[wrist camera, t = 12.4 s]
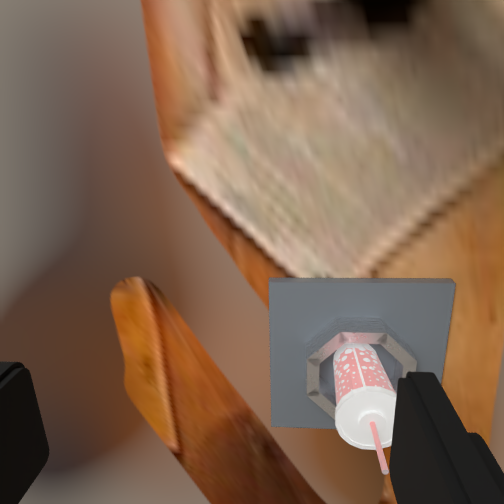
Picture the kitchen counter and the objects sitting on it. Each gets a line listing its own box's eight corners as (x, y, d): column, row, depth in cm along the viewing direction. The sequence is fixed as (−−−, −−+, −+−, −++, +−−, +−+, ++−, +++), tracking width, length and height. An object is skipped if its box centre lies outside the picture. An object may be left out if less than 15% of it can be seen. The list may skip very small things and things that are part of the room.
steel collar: (306, 316, 41) (307, 331, 38) (411, 317, 40) (420, 333, 38) (304, 400, 45) (305, 420, 42) (401, 403, 44) (409, 423, 41)
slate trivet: (269, 277, 42) (268, 282, 40) (451, 278, 40) (455, 283, 39) (271, 419, 47) (271, 426, 46) (430, 424, 46) (433, 432, 45)
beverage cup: (330, 387, 44) (348, 506, 31) (321, 338, 42) (337, 442, 29) (387, 380, 43) (431, 499, 30) (381, 330, 41) (426, 434, 28)
